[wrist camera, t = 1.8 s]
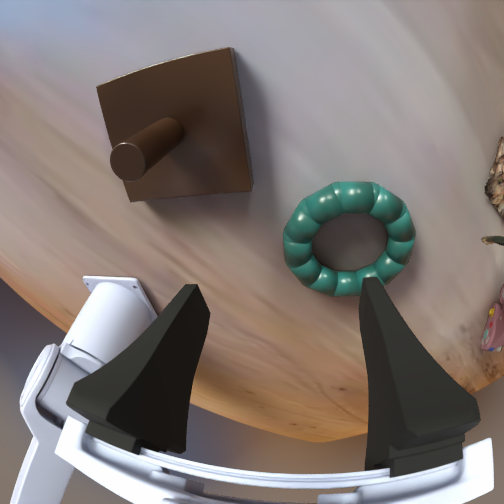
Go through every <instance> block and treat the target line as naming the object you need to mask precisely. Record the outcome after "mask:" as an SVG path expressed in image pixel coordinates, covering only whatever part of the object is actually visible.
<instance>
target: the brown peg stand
mask: <svg viewBox="0 0 504 504" xmlns="http://www.w3.org/2000/svg"><path fill="white" fill-rule="evenodd" d="M96 88H97V93H98V97H99V101H100V105H101V109H102V113H103V117H104V121H105V124H106V128H107V131H108V135H109V138H110V142H111V145H112V149H113V150H112V153H111V156H110V164H111V167H112V170H113V171H114V173H115V174H116V175H117V176H118V177H119V178H120V179H122V180H123V183H124V186H125V189H126V191H127V194H128V197H129V200H130V202H138V201H146V200H154V199H163V198H173V197H183V196H194V195H205V194H218V193H232V192H248V191H252V187H253V184H254V181H253V174H252V167H251V160H250V152H249V145H248V139H247V132H246V125H245V118H244V111H243V104H242V98H241V91H240V84H239V78H238V71H237V65H236V58H235V52H234V48H230V47H227V48H221V49H215V50H210V51H205V52H201V53H196V54H192V55H188V56H184V57H180V58H176V59H172V60H168V61H165V62H162V63H158V64H155V65H152V66H149V67H145V68H142V69H140V70H137V71H134V72H131V73H128V74H125V75H123V76H120V77H118V78H115V79H113V80H110V81H108V82H105V83H103V84H101V85H98V86H97V87H96Z"/></svg>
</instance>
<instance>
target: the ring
mask: <svg viewBox="0 0 504 504" xmlns="http://www.w3.org/2000/svg"><path fill="white" fill-rule="evenodd" d="M344 213H367V214H369V215H371V216H373V217H374V218H376V219H378V220H380V221H381V222H383V224H384V226H385V228H386V230H387V232H388V235H389V236H388V242H387V247H386V250H385V251H384V252H383V253H382V255H381V256H380V257H379V258H378V259H377V260H376V261H375V263H373V264H371V265H368V266H366V267H364V268H362V269H359V270H357V271H334V270H332V269H330V268H327V267H325V266H323V265H321V264H320V263H319V262H318V260H317V259H316V258H315V256H314V255H313V254H312V239H313V238H314V236H315V235H316V233H317V232H318V230H319V229H320V227H321V226H322V225H323V224H324V223H326V222H328V221H330V220H332V219H334V218H336V217H338V216H340V215H342V214H344ZM415 236H416V231H415V227H414V225H413V222H412V219H411V217H410V214H409V211H408V209H407V206H406V204H405V203H404V202H403V201H402V200H401V199H400V198H398V197H397V196H395V195H394V194H392V193H391V192H389V191H388V190H386V189H384V188H383V187H381V186H380V185H378V184H376V183H373V182H335V183H332V184H330V185H329V186H327V187H325V188H323V189H321V190H319V191H317V192H316V193H314V194H312V195H310V196H308V197H306V198H305V199H303V200H302V201H301V202H300V203H299V205H298V206H297V208H296V210H295V211H294V213H293V215H292V216H291V218H290V220H289V221H288V223H287V225H286V226H285V228H284V231H283V242H284V255H285V262H286V264H287V266H288V267H289V268H290V270H291V271H292V272H293V273H294V274H295V276H296V277H297V278H298V279H299V280H300V282H301V283H302V284H303V285H304V286H306V287H308V288H310V289H313V290H315V291H318V292H321V293H323V294H326V295H328V296H331V297H341V296H361V288H362V280H363V278H364V277H378V278H379V280H380V282H381V284H382V285H383V286H385V285H387V284H389V283H390V282H391V281H392V280H393V279H394V278H395V277H396V276H397V275H398V273H399V272H400V271H401V270H402V269H403V268H404V267H405V266H406V265H407V264H408V262H409V259H410V256H411V252H412V248H413V245H414V241H415Z"/></svg>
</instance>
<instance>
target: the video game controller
mask: <svg viewBox="0 0 504 504" xmlns="http://www.w3.org/2000/svg"><path fill="white" fill-rule="evenodd" d="M500 303H501V304H503V306H502V305H501V304H498V303H494V304H493V305H492V307H491V309H490V311H489V316H488V321H487V324H486V327H485V329H484V332H483V335H482V339H481V349H483V350H487V351H495V350H496V351H498V352H500V351H501V348H502V346H503V345H504V311H503V308H504V285H503V286H502V289H501V293H500Z"/></svg>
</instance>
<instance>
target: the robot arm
mask: <svg viewBox="0 0 504 504" xmlns="http://www.w3.org/2000/svg"><path fill="white" fill-rule="evenodd" d="M82 280H83V282H84V283H85V285H86V286H87V288H88V290H89V291H90V293H91V295H90V296H89V298H88V300H87V301H86V303H85V305H84V306H83V308H82V309H81V311H80V313H79V314H78V316H77V318H76V320H75V321H74V323H73V325H72V326H71V328H70V330H69V332H68V334H67V335H66V337H65V339H64V341H63V343H62V344H61V345H60V346H59V347H58V346H56V345H55V344H52V345H47V346H46V347H45V348H44V349H43V351H42V352H41V354H40V355H39V357H38V359H37V361H36V363H35V364H34V366H33V368H32V370H31V372H30V374H29V376H28V379H27V381H26V384H25V388H24V390H23V392H22V394H21V397H20V411H21V413H22V415H23V417H24V419H25V421H26V423H27V425H28V427H29V429H30V430H31V432H32V434H33V439H32V441H31V444H30V446H29V449H28V451H27V454H26V456H25V459H24V462H23V465H22V468H21V470H20V473H19V476H18V479H17V482H16V485H15V488H14V492H13V495H12V498H11V502H10V504H60V503H61V500H62V498H63V495H64V493H65V490H66V488H67V485H68V483H69V481H70V478H71V476H72V473H73V471H74V469H75V467H76V468H77V469H79V470H80V471H81V472H83V473H84V474H86V475H87V476H89V477H90V478H92V479H93V480H95V481H96V482H98V483H99V484H101V485H103V486H104V487H106V488H107V489H109V490H111V491H112V492H114V493H116V494H118V495H120V496H121V497H123V498H125V499H127V500H128V501H130V502H132V503H134V504H463V503H465V502H467V501H470V500H472V499H474V498H477V497H479V496H480V495H483V494H485V493H487V492H489V491H491V490H493V488H494V470H493V452H492V443H491V438H487V439H485V440H483V441H480V442H477V443H474V444H472V445H469V446H466V447H464V448H462V442H464V441H465V435H464V433H466V432H467V431H469V430H470V429H472V428H474V427H475V426H476V425H478V423H479V422H480V420H481V419H480V413H479V407H478V404H477V401H476V399H475V398H474V397H473V396H472V395H471V394H469V393H468V392H467V391H466V390H465V389H464V388H462V387H461V386H460V385H459V384H458V383H457V382H456V381H455V380H454V379H453V378H452V377H451V376H449V374H448V373H447V372H446V371H445V370H444V369H443V368H442V367H441V366H440V365H439V364H438V363H437V362H436V361H435V360H434V359H433V357H432V356H431V355H430V354H429V353H428V352H427V350H426V349H425V348H424V347H423V345H422V344H421V343H420V342H419V340H418V339H417V338H416V336H415V335H414V334H413V332H412V331H411V329H410V328H409V327H408V325H407V324H406V322H405V321H404V319H403V318H402V316H401V315H400V313H399V312H398V310H397V309H396V307H395V306H394V304H393V302H392V301H391V299H390V297H389V296H388V294H387V292H386V291H385V289H384V287H383V285H382V284H381V282H380V280H379V278H378V277H364V278H363V280H362V288H361V296H360V303H359V320H360V332H361V337H362V343H363V349H364V355H365V361H366V368H367V375H368V389H369V417H368V438H367V449H366V459H365V471H363V472H352V473H338V474H278V473H264V472H254V471H245V470H237V469H230V468H224V467H218V466H212V465H207V464H202V463H197V462H193V461H188V460H184V459H180V458H176V457H172V456H169V455H165V454H162V453H159V451H163V452H166V451H170V452H174V453H178V454H181V453H183V452H185V451H186V431H187V420H188V410H189V403H190V396H191V390H192V384H193V379H194V375H195V371H196V368H197V365H198V362H199V358H200V355H201V352H202V348H203V345H204V342H205V338H206V335H207V331H208V325H209V319H210V311H209V309H208V307H207V304H206V302H205V300H204V298H203V296H202V293H201V291H200V289H199V287H198V284H185V286H184V287H183V288H182V289H181V290H180V291H179V292H178V294H177V295H176V296H175V297H174V298H173V299H172V301H171V302H170V303H169V304H168V305H167V306H166V308H165V309H164V310H163V311H162V312H161V313H160V315H159V316H157V314H156V312H155V310H154V309H153V307H152V305H151V303H150V301H149V300H148V298H147V296H146V294H145V292H144V290H143V288H142V286H141V284H140V282H139V281H138V280H137V279H136V278H125V277H101V276H84V277H83V278H82ZM166 468H167V469H171V470H174V471H178V472H181V473H185V474H189V475H193V476H198V477H202V478H207V479H212V480H217V481H223V482H229V483H235V484H242V485H251V486H259V487H271V488H287V489H332V488H347V487H357V488H356V489H355V490H354V492H352V493H341V494H320V495H319V496H318V500H317V503H287V502H272V501H261V500H252V499H244V498H236V497H230V496H223V495H218V494H213V493H208V492H203V489H204V483H201V482H197V481H193V480H189V479H185V478H180V477H177V476H173V475H171V474H170V473H169V471H168V470H167V469H166ZM359 486H360V487H359Z"/></svg>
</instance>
